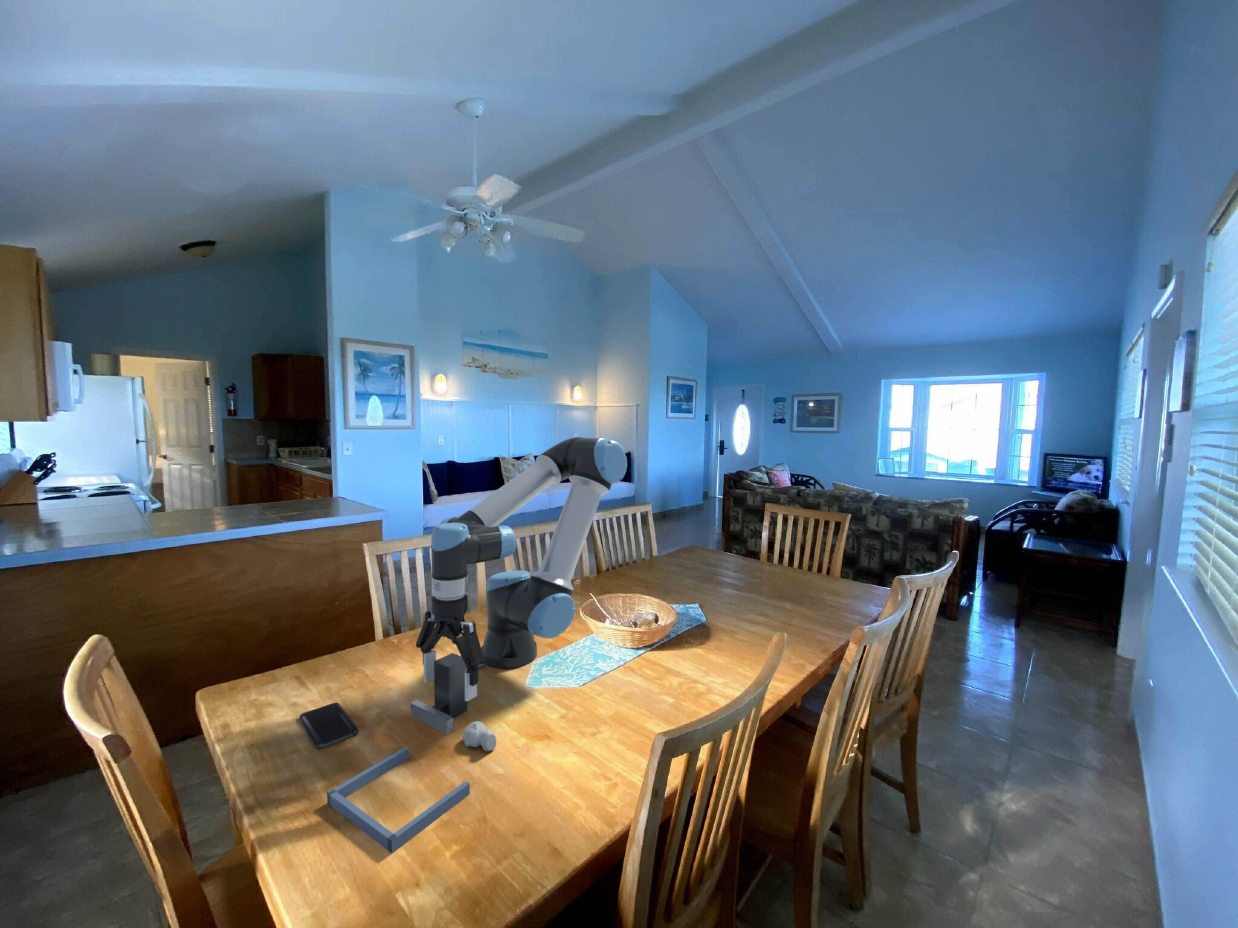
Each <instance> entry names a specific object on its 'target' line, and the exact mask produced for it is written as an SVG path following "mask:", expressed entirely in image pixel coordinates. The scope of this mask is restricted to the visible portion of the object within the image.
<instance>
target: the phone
mask: <svg viewBox="0 0 1238 928" xmlns="http://www.w3.org/2000/svg"><path fill="white" fill-rule="evenodd" d="M299 721H300V723H301V725H302V727H303V729H304V730H305V732H306V734H307V735H308V737H309V739H310V741H311V743H312V745H313V747H314V748H315V749H317V750H322V749H325V748H329V747H331V746H333V745H337V744H339V743H341V742H344V741H347V740H350V739H352V738H354V737H356V736H357V735H358V734H359V729H358V727H357V726H356V724H355V723H354V722H353V720H352V719H351V718H350V716H349V715H348V713H347V712H346V711H345V709H344V708H343V706H342V705H341V704H340V703H339V702H332V703H329V704H325V705H323V706H321V707H317V708H314V709H312V710H308V711H305V712H302V713H300V714H299Z"/></svg>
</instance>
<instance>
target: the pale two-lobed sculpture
mask: <svg viewBox="0 0 1238 928" xmlns="http://www.w3.org/2000/svg"><path fill="white" fill-rule="evenodd" d="M462 740H463V742H464V744H465V746H466V748H468V747H470V748H471V747H472V748H478V747H482V749H483V751H485V752H491V751H493V750H494V749H495V748H496V746H497V737H496V734H495V732H494V730H492V729H488V730H487V727H486V724H484V723H483V722H481V721H478V720H477V721H476V720H475V721H472V722H470V723H469V724H468V725H467V726H466V727H465V729H464V730H463V734H462Z"/></svg>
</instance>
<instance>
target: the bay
mask: <svg viewBox="0 0 1238 928" xmlns="http://www.w3.org/2000/svg"><path fill="white" fill-rule="evenodd" d="M408 759H410V748H409V747H407V746H404V747H402V748H401V749H399V750H397V751H396V752H394V753H392V754H390V755H389V756H387V757H385V758H384V759H382V760H380V761H377V763H375V764H373V765H372V766H370V767H368V768H367V769H364V770H363V771H361V772H360V773H358V774H356V775H354V776H353V777H351V778H349V779H347V780H345V781H344V782H342V783H341V784H340V785H338V786H336V787H334V788H332V789H331V790H329V791H328V792H326V802H327V803H326V804H327V805H328V806H330V807H331V808H333V810H335V811H336V812H338V813H339V814H340V815H341V816H343V817H344V818H345V819H346V820H347V821H349V822H350V823H352V824H353V825H355V826H356V828H359V830H361V831H362V832H363V833H365V834H366V835H367V836H369V837H370V838H371V839H372V840H374V841H375V842H377V843H378V844H379V845H380V846H381V847H383V848H384V849H385V850H387V851H388V852H390V853H391V854H393V853H394V852H396V851H397V850H398V849H400V848H401V847H402V846H404V845H405V844H407V843H408V842H409V841H410V840H411V839H412V838H414V837H416V836H417V835H418V834H419V833H421V832H423V830H425V829H426V828H427V827H429V826H430V825H431V824H432V823H434V822H435V821H436V820H438V819H439V818H440V817H441V816H443V815H444V814H446V813H447V812H448V811H449V810H451V809H452V808H453V807H455V806H456V805H457V804H458V803H460V802H461V801H462V800H464V799H465V798H467V796H469V795H470V794H471V792H470V791H471V790H470V789H471V788H470V785H471V784H470V782H469V781H467V780H465V781H464V782H462V783H461V784H460V785H458V786H457V787H455V788H454V789H453V790H451V791H450V792H448V793H447V794H446V795H444V796H442V798H440V799H439V800H438V801H436V802H435V803H434V804H432V805H430V806H429V807H427V808H426V809H425V810H424V811H422V812H421V813H419V815H417V816H416V817H414V818H413V819H411V820H410V821H408V823H405V825H404V826H402V827H401V828H399V829H398V830H396V831H395V832H394V833H393V832H392V831H391V830H389V829H388V828H387V827H385V826H384V825H382V824H381V823H380V822H379V821H377V820H375V818H373V817H371V816H370V815H369V814H368V813H367V812H365V811H364V810H362V809H361V808H359V807H358V806H356V805H355V804H354V803H353V802H351V801H350V800H348V799H347V798H346V797H348V796H350V795H351V794H353V793H354V792H356V791H358V790H359V789H361V788H363V787H364V786H366V785H368V784H369V783H371V782H372V781H374V780H376V779H377V778H379V777H380V776H382V775H384V774H386V773H387V772H389V771H390V770H392V769H394V768H395V767H397V766H399V765H401V764H402V763H403V762H405V761H407V760H408Z"/></svg>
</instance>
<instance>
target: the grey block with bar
mask: <svg viewBox="0 0 1238 928" xmlns="http://www.w3.org/2000/svg"><path fill="white" fill-rule="evenodd" d="M466 670H468V669H467V667H466V665H465V663H464V661H463V659H462V657H461V655H459V654H456V653H454V652H451V653H450V654H447V655H445V656H442V657H441V658H439V659H436V661H434V679H433V686H434V687H433V688H434V690H433V691H434V696H433V697H434V704H433V705H432V706H430V705H428V704H426V703H425V702H422V701H420V700H419V699H418V700H417V699H415V700H414V701H412V702H410V717H412V718H414V719H416V720H418V721H420V722H422V723H424V724H426V725H427V726H430V727H431V728H434V729H435V730H437V731H439V732H441V733H443V734H445V735H449V734H452V733H453V732H454V720H455V719H456V718H457V717H459V716H461V715H463V714H464V713H466V712H468V711H469V701H465V671H466Z"/></svg>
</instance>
